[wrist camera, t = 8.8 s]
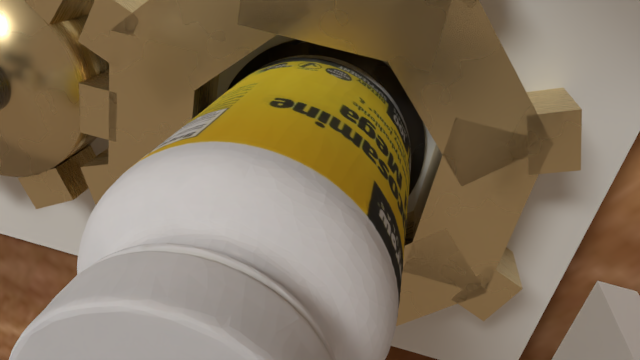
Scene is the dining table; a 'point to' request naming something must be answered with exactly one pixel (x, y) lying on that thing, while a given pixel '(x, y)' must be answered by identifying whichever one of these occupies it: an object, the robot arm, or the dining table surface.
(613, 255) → the dining table surface
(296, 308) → the pill bottle
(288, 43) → the gear
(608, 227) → the dining table surface
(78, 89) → the gear
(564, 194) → the gear board
